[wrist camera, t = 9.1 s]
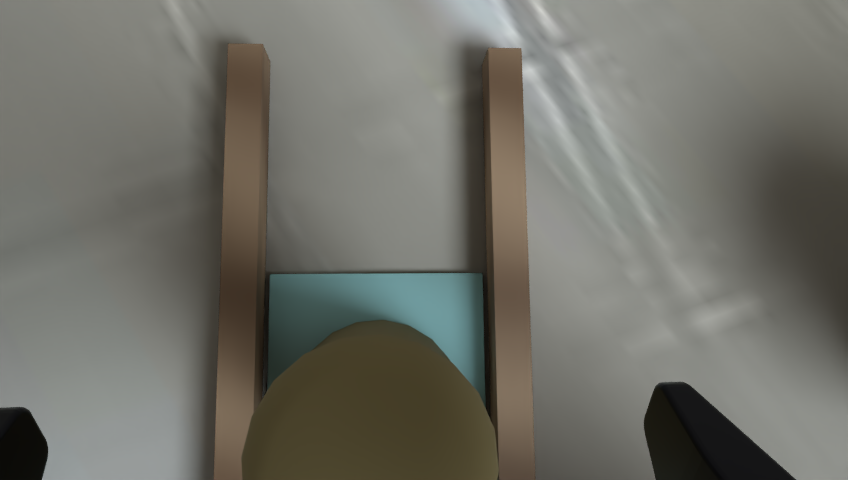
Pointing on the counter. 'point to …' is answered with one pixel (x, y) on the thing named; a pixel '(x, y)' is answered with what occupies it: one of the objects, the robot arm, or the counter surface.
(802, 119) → the counter surface
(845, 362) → the counter surface
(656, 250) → the counter surface
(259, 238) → the rail track
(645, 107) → the counter surface
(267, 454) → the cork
